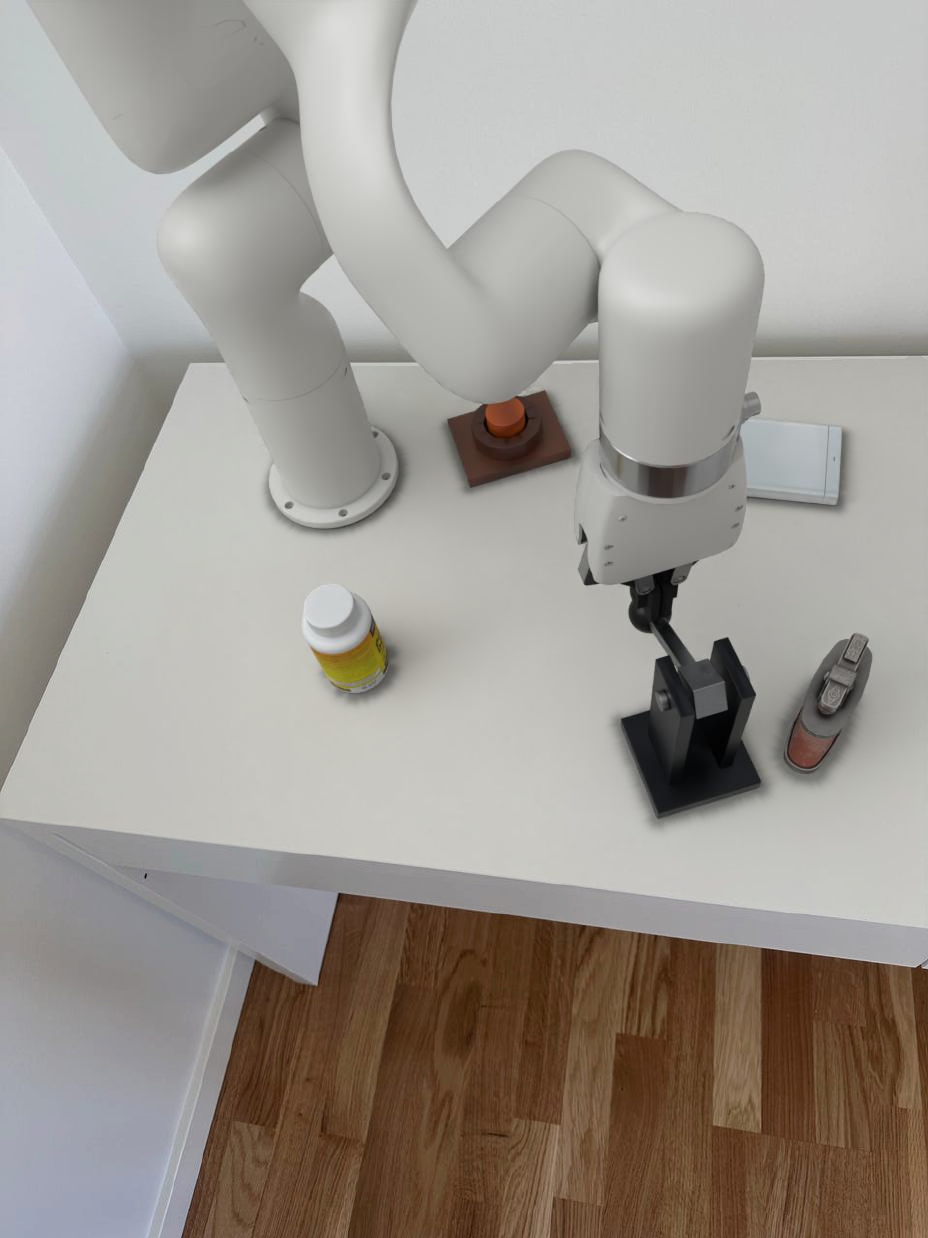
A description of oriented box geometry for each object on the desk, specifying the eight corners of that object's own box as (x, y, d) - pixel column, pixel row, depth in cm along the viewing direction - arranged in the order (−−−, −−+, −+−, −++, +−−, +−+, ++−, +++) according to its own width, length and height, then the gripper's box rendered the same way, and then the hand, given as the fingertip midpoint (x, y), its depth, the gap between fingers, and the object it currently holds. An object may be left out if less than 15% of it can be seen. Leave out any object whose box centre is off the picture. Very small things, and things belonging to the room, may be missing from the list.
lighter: (817, 782, 68) (848, 729, 59) (773, 761, 69) (797, 706, 61) (857, 695, 71) (892, 633, 62) (814, 677, 72) (843, 613, 63)
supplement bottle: (401, 677, 77) (375, 616, 68) (341, 707, 76) (307, 649, 67) (375, 627, 80) (347, 562, 71) (317, 655, 79) (281, 593, 70)
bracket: (620, 725, 72) (623, 642, 60) (716, 695, 72) (738, 607, 61) (657, 819, 68) (668, 750, 56) (759, 788, 68) (792, 712, 56)
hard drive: (691, 481, 81) (839, 495, 78) (701, 411, 85) (843, 422, 82) (689, 492, 82) (835, 507, 80) (699, 423, 86) (839, 434, 83)
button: (493, 442, 85) (491, 430, 83) (482, 415, 87) (480, 402, 85) (530, 431, 85) (529, 419, 83) (519, 404, 87) (517, 391, 85)
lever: (625, 624, 71) (619, 590, 69) (665, 612, 71) (660, 578, 69) (689, 726, 60) (684, 688, 58) (736, 712, 60) (732, 674, 58)
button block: (469, 487, 86) (465, 467, 83) (448, 427, 90) (444, 405, 87) (571, 457, 86) (570, 436, 84) (545, 398, 90) (544, 376, 88)
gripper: (765, 352, 53) (728, 534, 69) (519, 425, 53) (539, 591, 69) (824, 445, 49) (771, 615, 65) (560, 525, 49) (571, 676, 65)
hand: (652, 602), depth 67 cm, fingers closed
